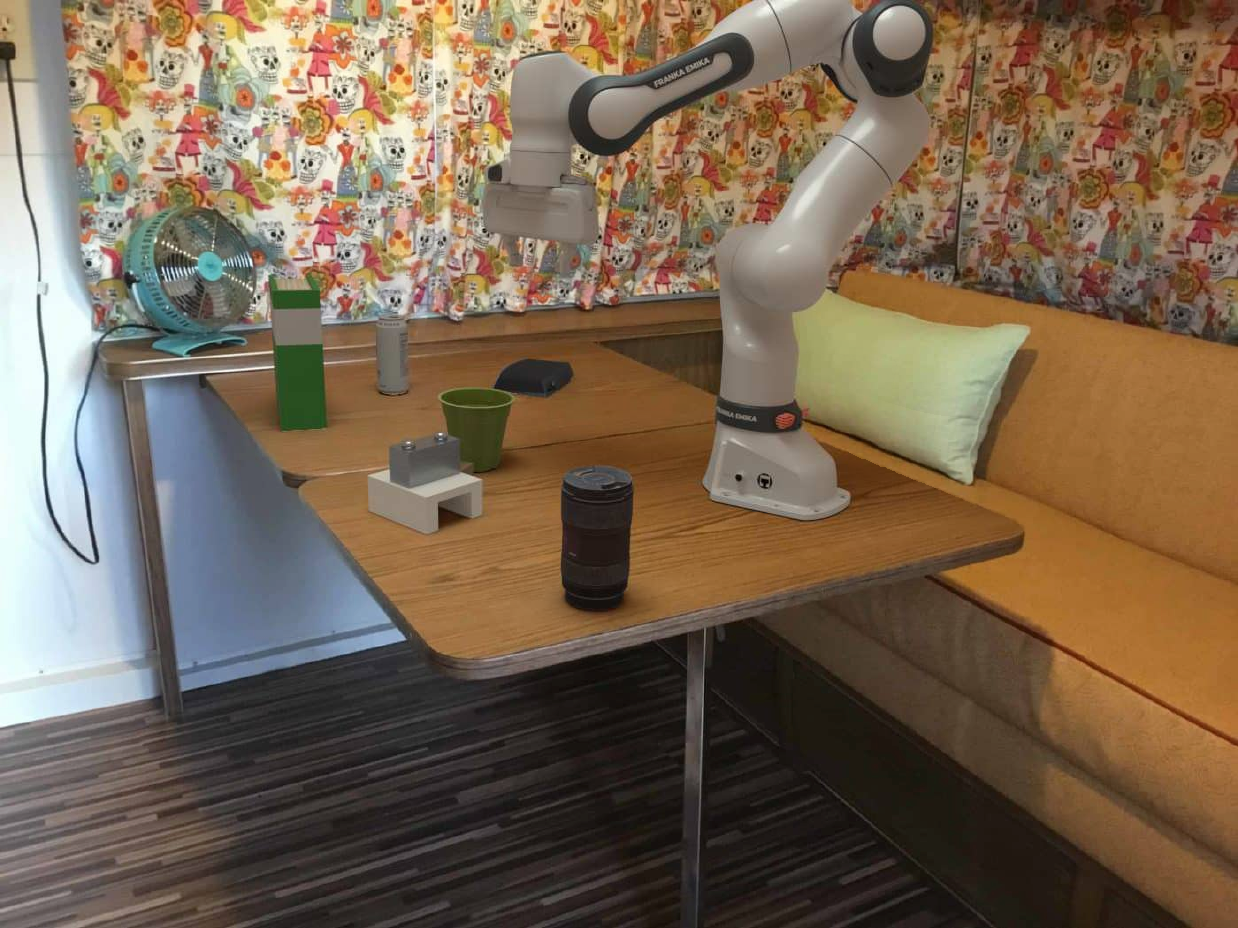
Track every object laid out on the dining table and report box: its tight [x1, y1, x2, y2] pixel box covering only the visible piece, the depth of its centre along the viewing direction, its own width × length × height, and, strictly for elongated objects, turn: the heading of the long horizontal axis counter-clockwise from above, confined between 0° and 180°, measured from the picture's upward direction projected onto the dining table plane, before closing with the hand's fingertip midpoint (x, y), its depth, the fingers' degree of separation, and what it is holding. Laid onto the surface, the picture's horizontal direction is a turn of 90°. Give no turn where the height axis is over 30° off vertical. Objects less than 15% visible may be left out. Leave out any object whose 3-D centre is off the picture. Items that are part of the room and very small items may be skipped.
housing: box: [388, 430, 460, 489], centre depth 139 cm, size 9×4×6 cm, turn 141°
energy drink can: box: [374, 313, 410, 394], centre depth 199 cm, size 6×6×15 cm
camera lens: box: [560, 465, 635, 611], centre depth 116 cm, size 8×8×15 cm
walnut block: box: [460, 461, 475, 477], centre depth 150 cm, size 4×4×4 cm
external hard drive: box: [491, 357, 575, 399], centre depth 212 cm, size 13×19×4 cm
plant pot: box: [437, 387, 516, 473], centre depth 159 cm, size 12×12×11 cm
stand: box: [367, 468, 483, 535], centre depth 140 cm, size 12×10×5 cm
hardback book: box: [267, 273, 328, 432], centre depth 179 cm, size 18×7×24 cm, turn 20°
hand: (538, 270), depth 150 cm, fingers open, 8 cm apart
